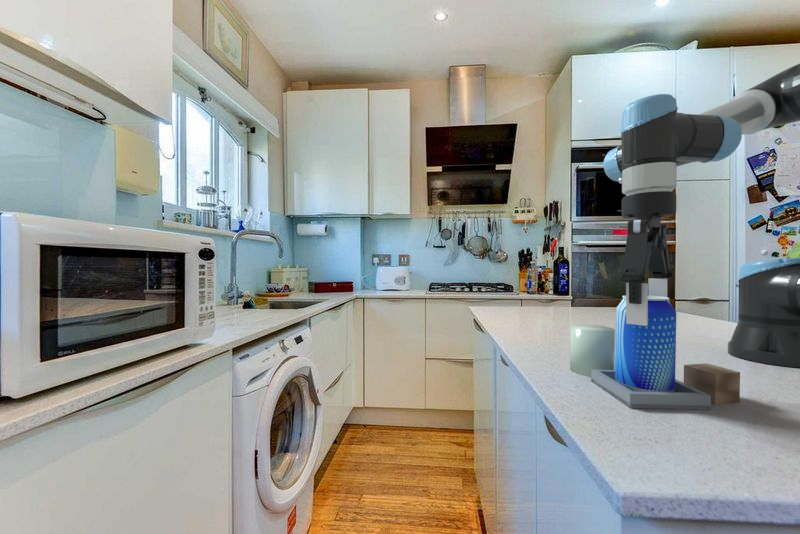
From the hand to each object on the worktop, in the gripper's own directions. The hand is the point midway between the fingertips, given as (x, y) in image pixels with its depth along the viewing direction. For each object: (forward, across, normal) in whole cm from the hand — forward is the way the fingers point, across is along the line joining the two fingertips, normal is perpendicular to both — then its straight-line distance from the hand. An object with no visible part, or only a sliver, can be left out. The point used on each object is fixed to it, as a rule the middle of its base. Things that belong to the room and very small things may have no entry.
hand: (648, 319), depth 59 cm
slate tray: (+13, +1, 0) cm, 13 cm away
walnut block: (+13, -6, +7) cm, 16 cm away
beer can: (+12, 0, 0) cm, 12 cm away
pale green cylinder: (+13, -6, -11) cm, 18 cm away
